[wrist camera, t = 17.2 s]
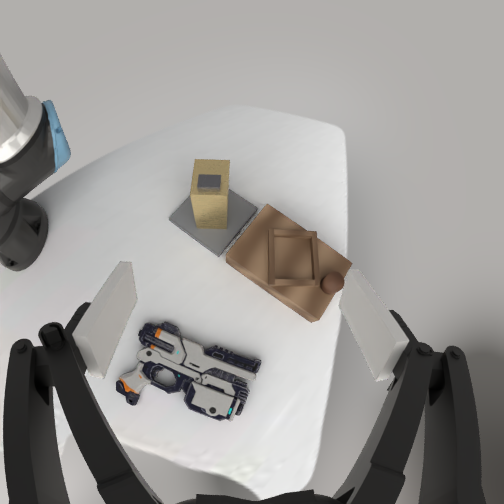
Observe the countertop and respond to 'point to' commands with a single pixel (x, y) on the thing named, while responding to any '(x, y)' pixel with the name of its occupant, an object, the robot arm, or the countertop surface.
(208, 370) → the toy gun
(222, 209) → the labelled wooden block
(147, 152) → the countertop surface
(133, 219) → the countertop surface
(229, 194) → the mat
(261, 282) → the body
